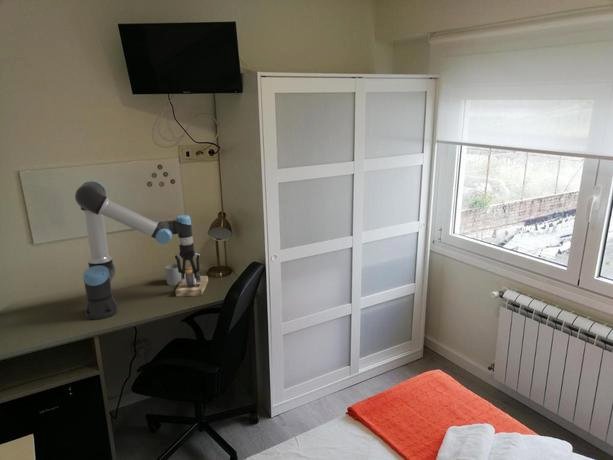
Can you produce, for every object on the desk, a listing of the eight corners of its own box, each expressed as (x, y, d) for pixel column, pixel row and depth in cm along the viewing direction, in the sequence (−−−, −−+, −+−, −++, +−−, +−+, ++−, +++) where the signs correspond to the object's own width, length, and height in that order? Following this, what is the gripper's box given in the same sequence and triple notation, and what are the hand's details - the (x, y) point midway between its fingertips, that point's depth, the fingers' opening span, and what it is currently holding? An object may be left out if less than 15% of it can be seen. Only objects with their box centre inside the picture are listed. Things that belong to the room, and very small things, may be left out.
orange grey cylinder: (185, 287, 251) (183, 270, 249) (187, 284, 256) (186, 267, 253) (194, 287, 251) (192, 270, 249) (196, 284, 256) (194, 267, 253)
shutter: (181, 283, 257) (180, 277, 256) (184, 278, 264) (183, 273, 263) (202, 282, 257) (202, 276, 256) (205, 277, 264) (204, 272, 263)
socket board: (176, 296, 249) (175, 290, 248) (184, 282, 268) (183, 276, 267) (201, 295, 249) (201, 289, 248) (208, 281, 268) (207, 276, 267)
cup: (167, 280, 271) (165, 264, 269) (181, 278, 274) (179, 263, 271) (167, 285, 264) (165, 269, 261) (181, 283, 266) (180, 267, 263)
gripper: (168, 246, 243) (173, 287, 249) (200, 245, 243) (204, 285, 250) (172, 242, 250) (176, 281, 257) (203, 240, 251) (207, 280, 257)
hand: (190, 283), depth 253 cm, fingers closed on orange grey cylinder, 4 cm apart
